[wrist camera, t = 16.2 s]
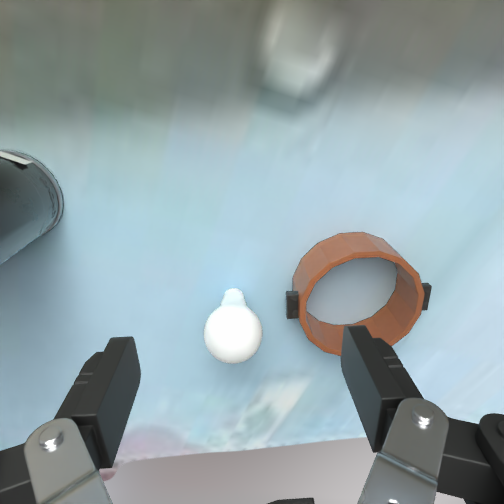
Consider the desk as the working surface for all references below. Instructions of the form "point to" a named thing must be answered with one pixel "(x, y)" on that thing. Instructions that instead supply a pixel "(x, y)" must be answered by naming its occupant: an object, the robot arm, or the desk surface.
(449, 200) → the desk surface
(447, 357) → the desk surface
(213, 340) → the lightbulb
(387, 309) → the copper pot
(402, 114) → the desk surface
